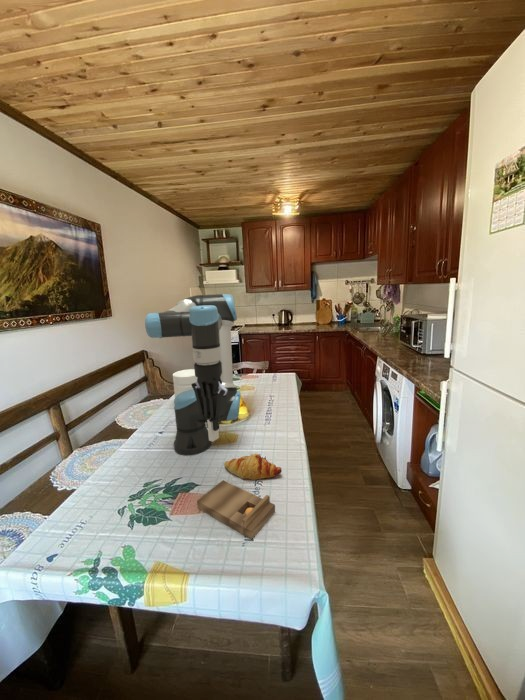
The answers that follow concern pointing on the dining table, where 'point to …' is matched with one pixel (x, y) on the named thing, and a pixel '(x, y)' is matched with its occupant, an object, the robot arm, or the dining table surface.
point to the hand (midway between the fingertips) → (214, 439)
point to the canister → (183, 380)
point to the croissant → (252, 467)
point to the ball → (248, 511)
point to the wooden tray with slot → (237, 508)
